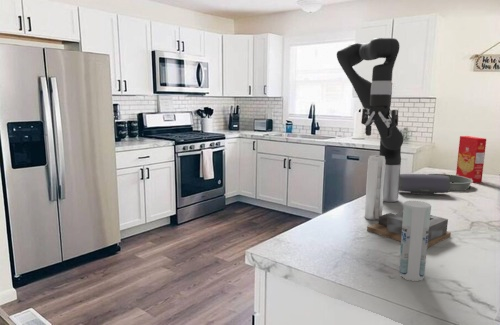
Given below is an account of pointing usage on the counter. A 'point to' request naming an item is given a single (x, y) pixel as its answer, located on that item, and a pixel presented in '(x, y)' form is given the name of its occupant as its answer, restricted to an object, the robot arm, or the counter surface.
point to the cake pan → (458, 182)
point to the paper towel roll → (375, 187)
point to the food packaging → (471, 158)
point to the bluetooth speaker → (424, 183)
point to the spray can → (414, 239)
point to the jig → (393, 228)
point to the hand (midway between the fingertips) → (378, 136)
